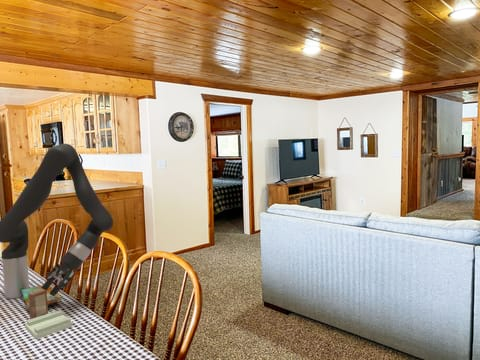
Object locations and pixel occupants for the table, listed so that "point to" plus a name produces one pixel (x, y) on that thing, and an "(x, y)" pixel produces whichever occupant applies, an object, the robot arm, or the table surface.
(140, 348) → the table surface
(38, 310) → the wooden block
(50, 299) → the puzzle game
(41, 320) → the plinth
